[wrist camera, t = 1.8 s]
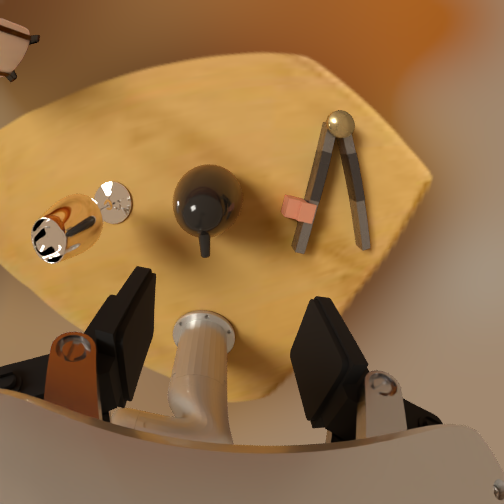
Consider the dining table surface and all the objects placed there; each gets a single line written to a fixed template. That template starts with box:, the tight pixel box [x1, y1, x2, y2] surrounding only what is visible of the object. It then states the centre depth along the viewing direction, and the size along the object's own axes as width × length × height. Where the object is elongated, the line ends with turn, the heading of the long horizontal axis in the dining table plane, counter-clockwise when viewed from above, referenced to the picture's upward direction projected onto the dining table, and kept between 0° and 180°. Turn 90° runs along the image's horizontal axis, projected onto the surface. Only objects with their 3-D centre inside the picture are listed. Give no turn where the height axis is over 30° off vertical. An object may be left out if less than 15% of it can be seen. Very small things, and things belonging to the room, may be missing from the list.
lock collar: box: [281, 195, 317, 224], centre depth 43 cm, size 3×4×4 cm
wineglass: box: [31, 181, 132, 264], centre depth 33 cm, size 8×8×20 cm
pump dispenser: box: [173, 164, 243, 258], centre depth 36 cm, size 10×10×15 cm
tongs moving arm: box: [336, 134, 370, 250], centre depth 43 cm, size 22×2×3 cm, turn 16°
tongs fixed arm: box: [292, 110, 355, 254], centre depth 42 cm, size 24×4×4 cm, turn 168°
